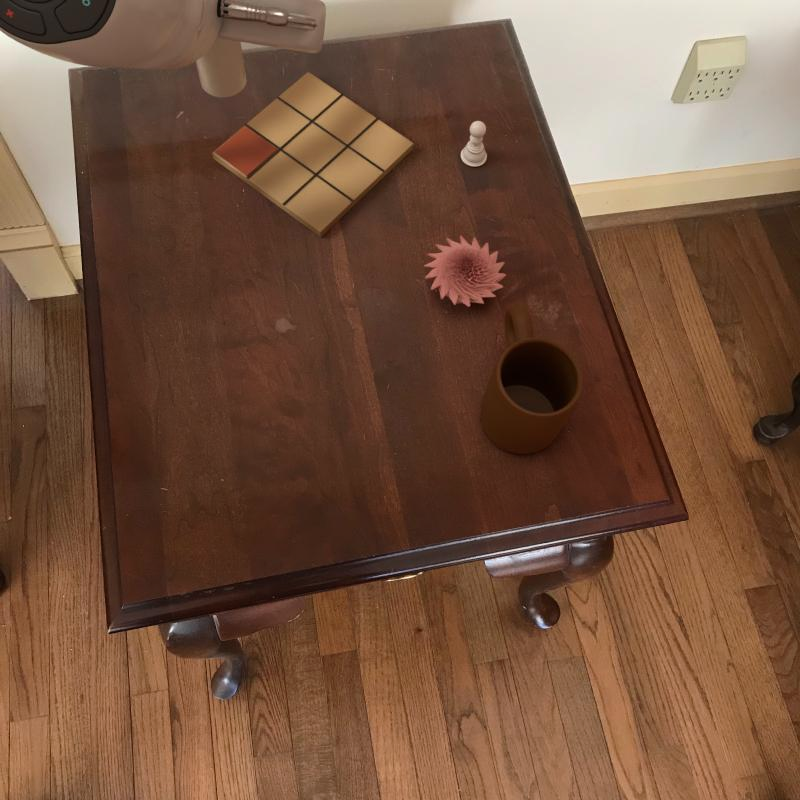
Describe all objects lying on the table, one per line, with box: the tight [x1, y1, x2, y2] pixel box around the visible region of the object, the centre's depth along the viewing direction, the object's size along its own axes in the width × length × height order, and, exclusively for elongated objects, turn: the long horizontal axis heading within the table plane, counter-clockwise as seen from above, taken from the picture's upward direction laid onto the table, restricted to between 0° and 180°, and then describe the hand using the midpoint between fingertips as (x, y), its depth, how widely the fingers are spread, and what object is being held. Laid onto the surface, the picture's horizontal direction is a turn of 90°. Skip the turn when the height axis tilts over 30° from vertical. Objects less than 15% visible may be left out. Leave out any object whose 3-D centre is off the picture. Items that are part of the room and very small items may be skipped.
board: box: [211, 71, 414, 238], centre depth 88 cm, size 15×15×1 cm
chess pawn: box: [460, 120, 488, 168], centre depth 87 cm, size 3×3×5 cm
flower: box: [423, 235, 507, 308], centre depth 80 cm, size 8×8×6 cm
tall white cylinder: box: [195, 38, 248, 99], centre depth 67 cm, size 4×4×12 cm
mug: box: [480, 301, 584, 455], centre depth 74 cm, size 12×8×9 cm, turn 10°
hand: (213, 12), depth 67 cm, fingers closed on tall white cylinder, 4 cm apart
